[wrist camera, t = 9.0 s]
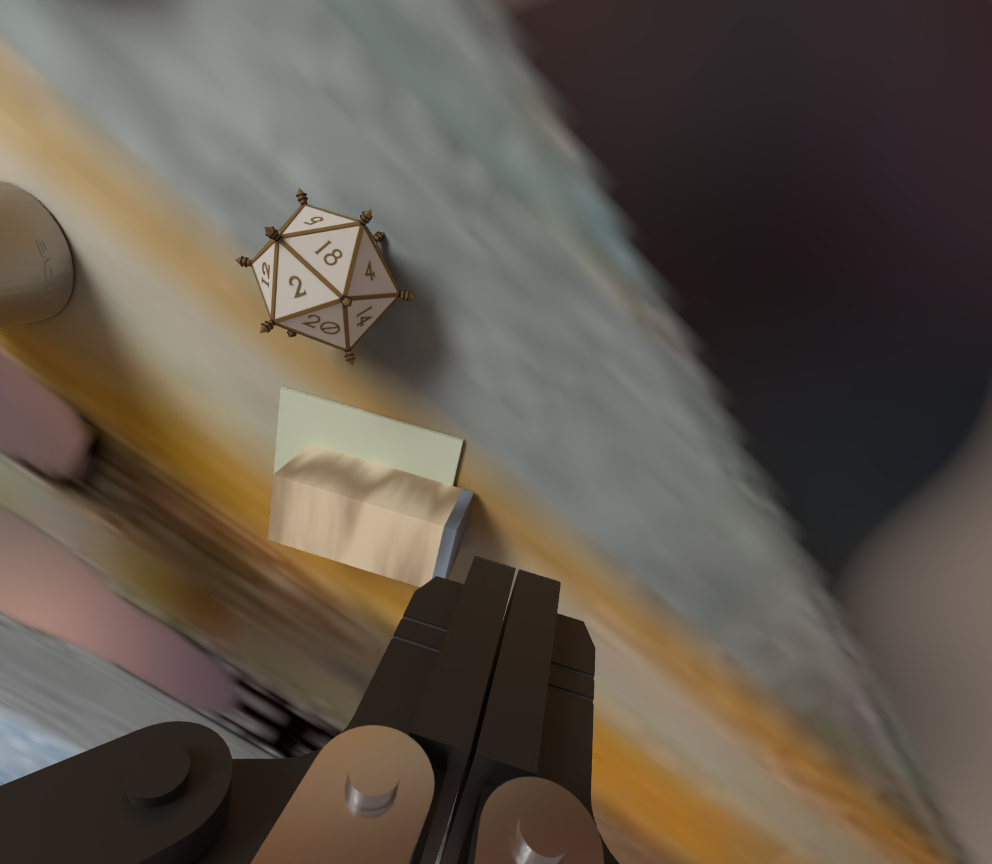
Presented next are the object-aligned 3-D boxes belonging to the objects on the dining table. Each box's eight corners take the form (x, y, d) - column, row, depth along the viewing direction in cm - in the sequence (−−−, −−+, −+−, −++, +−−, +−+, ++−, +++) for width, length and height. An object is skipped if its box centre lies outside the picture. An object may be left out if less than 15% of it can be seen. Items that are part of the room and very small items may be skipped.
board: (270, 529, 45) (268, 531, 45) (283, 386, 40) (280, 387, 40) (431, 580, 44) (430, 582, 44) (463, 439, 39) (462, 441, 39)
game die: (404, 258, 39) (464, 299, 31) (319, 352, 39) (357, 416, 32) (297, 149, 33) (337, 166, 26) (198, 259, 34) (209, 309, 26)
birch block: (459, 550, 42) (304, 503, 43) (473, 492, 40) (310, 443, 41) (440, 594, 38) (267, 539, 38) (456, 530, 36) (273, 474, 36)
